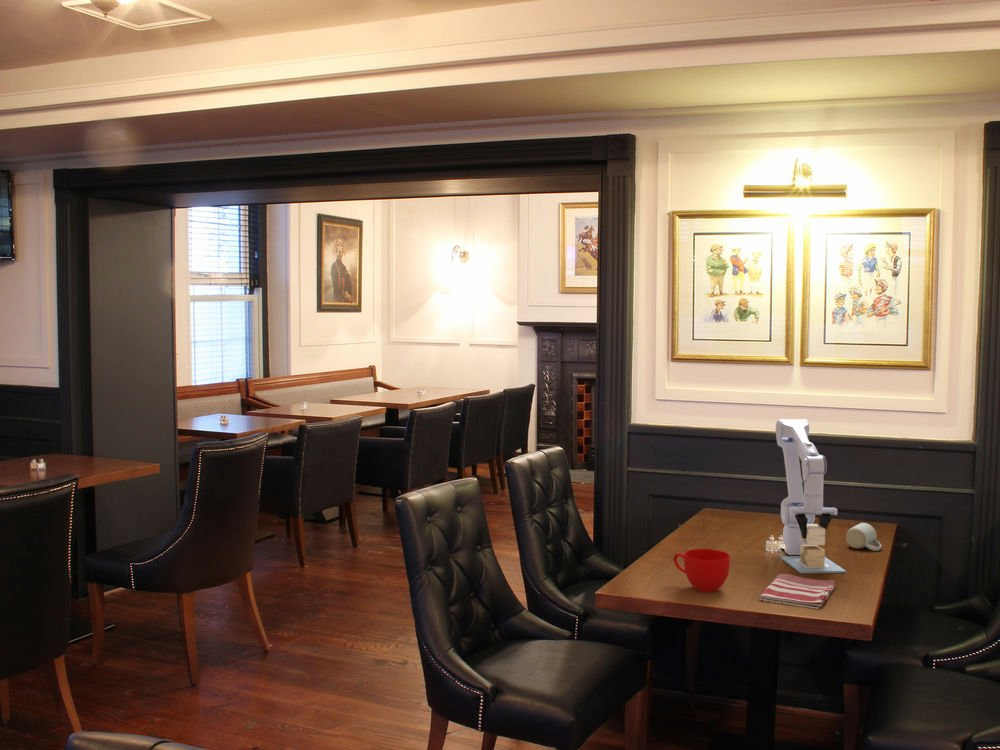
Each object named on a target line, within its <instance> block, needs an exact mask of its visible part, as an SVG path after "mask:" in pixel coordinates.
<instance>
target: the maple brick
mask: <svg viewBox="0 0 1000 750" xmlns="http://www.w3.org/2000/svg"><path fill="white" fill-rule="evenodd" d="M825 551H826V550H825V549H824V548H822V547H820V545H801V552H800V555H799V556H800V561H802V562H803V563H804V564H806V565H807V566H825V557H826V555H825V554H826V552H825Z"/></svg>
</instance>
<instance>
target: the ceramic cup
mask: <svg viewBox="0 0 1000 750" xmlns="http://www.w3.org/2000/svg"><path fill="white" fill-rule="evenodd" d="M678 557H681V558H682V559H683V563H684V564H683V565H684V568H683V567H682V566H681V565H680V563H679V562H678ZM673 563H674V565H675V567H676V568H677V569H678V570H679V571H681V572H682V573H684V574H685V575H686V578H687V580H688V581H689V583H690V584H691V585H692V587H693V588H694V590H696V591H697V592H701V591H702V592H703V593H714V592H713V591H715V592H717V590H718V591H719V589H720V588H721V587H722V586H723V585H724V584H725V582H726V581H727V579H728V577H729V572H730V566H731V555H730V554H729V553H727V552H726V551H723V550H719V549H718V550H717V549H710V548H697V549H693V548H692V549H688V550H686V551H684V552H683V553H681V552H680V553H679V552H678V553H675V555H674V556H673Z"/></svg>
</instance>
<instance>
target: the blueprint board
mask: <svg viewBox="0 0 1000 750" xmlns="http://www.w3.org/2000/svg"><path fill="white" fill-rule="evenodd" d="M779 558H780V559H781V560H782V561H783V560H784V561H783V562H784V563H786V564H787V565H788V566H790V567H791V568H793V569H794V570H795V571H797V572H798V573H799V574H843V573H844V574H845V573H847V571H846V569H844V568H842V566H840V565H838V564H836V563H835V562H833V561H832V560H830V559H829V558H827V557H826V556H825V566H807V565H806V564H804V563H803V562H802V561H800V555H789V556H787V555H785V556H784V555H782V556H780V557H779Z"/></svg>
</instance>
